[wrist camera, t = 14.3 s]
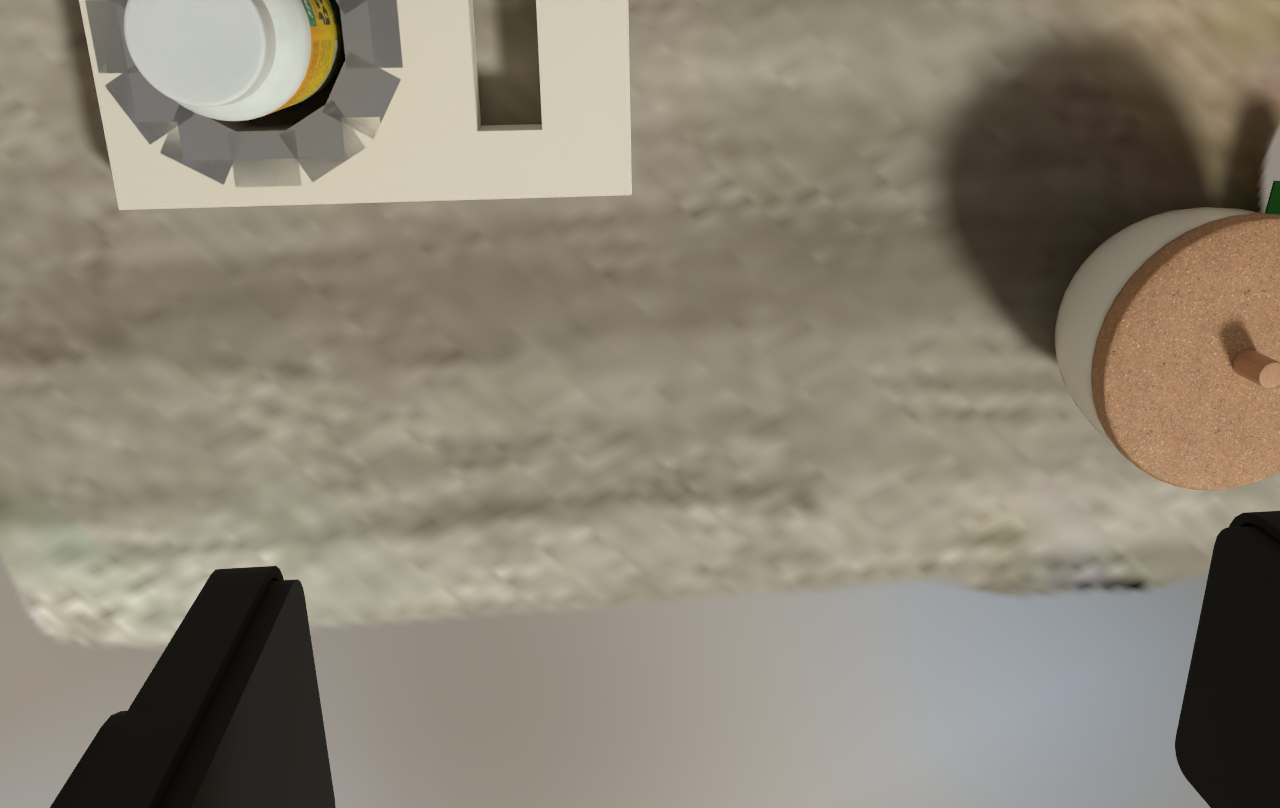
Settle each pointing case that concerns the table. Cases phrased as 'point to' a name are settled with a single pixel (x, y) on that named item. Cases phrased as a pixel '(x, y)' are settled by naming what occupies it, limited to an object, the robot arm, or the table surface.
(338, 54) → the supplement bottle
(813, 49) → the table surface
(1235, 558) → the robot arm
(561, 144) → the socket plate
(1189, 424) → the lidded jar
